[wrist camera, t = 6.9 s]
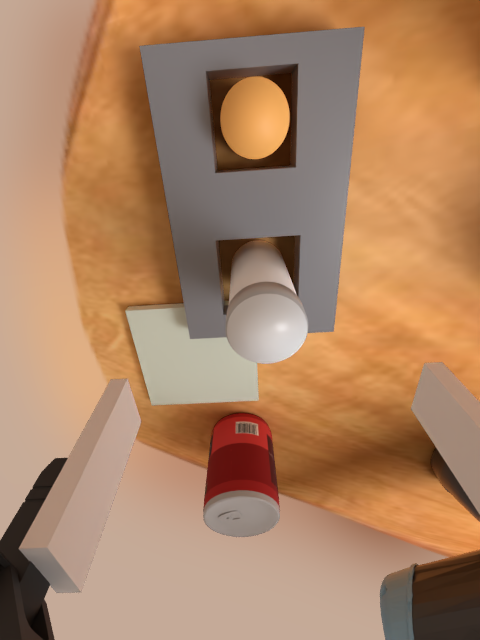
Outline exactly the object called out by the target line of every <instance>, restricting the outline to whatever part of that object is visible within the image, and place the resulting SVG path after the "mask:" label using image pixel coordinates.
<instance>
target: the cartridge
mask: <svg viewBox="0 0 480 640" xmlns="http://www.w3.org/2000/svg"><path fill="white" fill-rule="evenodd" d="M225 331H226V337H227V340H228V342H229V344H230V346H231V347H232V349H233V350H234V351H235V352H236V353H237V354H239V355H240V356H241V357H243V358H244V359H247V360H249V361H252V362H255V363H262V364H269V363H275V362H279V361H282V360H285V359H287V358H289V357H290V356H292V355H293V354H294V353H296V352H297V351H298V350H299V348H300V347H301V346H302V344H303V343H304V341H305V339H306V337H307V333H308V319H307V316H306V313H305V310H304V308H303V305H302V303H301V301H300V299H299V297H298V296H297V294H296V291H295V289H294V286H293V283H292V281H291V278H290V276H289V273H288V270H287V268H286V265H285V262H284V260H283V257H282V255H281V253H280V251H279V250H278V249H277V248H276V247H275V246H274V245H273V244H271V243H269V242H267V241H262V240H255V241H250V242H247V243H245V244H244V245H242V246H241V247H240V248H239V249H238V250H237V251H236V253H235V254H234V257H233V260H232V267H231V281H230V294H229V306H228V309H227V315H226V326H225Z"/></svg>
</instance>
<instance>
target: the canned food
mask: <svg viewBox="0 0 480 640" xmlns="http://www.w3.org/2000/svg"><path fill="white" fill-rule="evenodd" d="M203 512H204V515H203V516H204V522H205V524H206V525H207V526H208V527H209V528H210V529H212V530H213V531H215V532H217V533H220V534H223V535H227V536H233V537H248V536H254V535H258V534H262V533H265V532H266V531H269V530H270V529H272V528H273V527H274V526H275V525H276V524H277V523H278V521H279V518H280V513H279V512H280V508H279V496H278V487H277V478H276V470H275V461H274V452H273V443H272V435H271V431H270V429H269V427H268V425H267V423H266V422H265V421H264V420H263V419H261V418H260V417H258V416H256V415H253V414H248V413H237V414H232V415H228V416H226V417H224V418H222V419H221V420H219V421H218V422H217V424H216V425H215V427H214V429H213V431H212V434H211V442H210V451H209V461H208V470H207V479H206V488H205V498H204V509H203Z"/></svg>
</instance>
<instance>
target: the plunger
mask: <svg viewBox="0 0 480 640" xmlns="http://www.w3.org/2000/svg"><path fill="white" fill-rule="evenodd" d="M289 120H290V113H289V106H288V102H287V100H286V97H285V95H284V93H283V92H282V90H281V89H280V88H279V87H278V86H277V85H276V84H275V83H274V82H272V81H271V80H269V79H267V78H264V77H259V76H253V77H248V78H245V79H243V80H241V81H239V82H238V83H236V84H235V85H234V86H233V87H232V88H231V89H230V91H229V92H228V93H227V95H226V97H225V99H224V101H223V104H222V108H221V115H220V123H221V129H222V133H223V136H224V138H225V140H226V142H227V144H228V145H229V147H230V148H231V149H232V150H233V151H234V152H235V153H237V154H238V155H240V156H242V157H245V158H248V159H260V158H264V157H266V156H269V155H270V154H272V153H273V152H274V151H276V150H277V149H278V147H279V146H280V145H281V144H282V142H283V140H284V139H285V136H286V134H287V131H288V127H289Z"/></svg>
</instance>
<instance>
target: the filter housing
mask: <svg viewBox="0 0 480 640" xmlns="http://www.w3.org/2000/svg"><path fill="white" fill-rule="evenodd" d="M364 28H365V27H355V28H344V29H332V30H320V31H309V32H297V33H285V34H274V35H262V36H250V37H239V38H227V39H215V40H204V41H192V42H180V43H169V44H157V45H145V46H140V52H141V58H142V63H143V69H144V75H145V81H146V87H147V92H148V98H149V104H150V110H151V116H152V121H153V127H154V133H155V139H156V145H157V150H158V156H159V162H160V168H161V174H162V180H163V185H164V191H165V197H166V203H167V209H168V214H169V220H170V226H171V232H172V238H173V243H174V249H175V255H176V261H177V267H178V272H179V278H180V284H181V290H182V296H183V301H184V307H185V313H186V319H187V325H188V330H189V336H190V339H202V338H221V337H226V331H225V326H226V315H227V309H228V306H229V305H224V302H225V299H224V289H223V279H222V269H221V259H220V249H219V240H231V239H247V238H263V237H278V236H294V235H295V245H294V289H295V291H296V294H297V296H298V297H299V299H300V301H301V303H302V305H303V308H304V310H305V313H306V316H307V319H308V333H315V332H334V324H335V314H336V304H337V294H338V284H339V274H340V264H341V255H342V245H343V235H344V225H345V215H346V205H347V195H348V186H349V176H350V166H351V156H352V146H353V136H354V126H355V117H356V107H357V97H358V87H359V77H360V67H361V57H362V48H363V38H364ZM289 73H292V84H291V151H290V165H288V166H274V167H260V168H247V169H233V170H219V171H218V167H217V156H216V145H215V134H214V123H213V112H212V101H211V89H210V80H215V79H227V78H239V77H252V76H264V75H276V74H289Z"/></svg>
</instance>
